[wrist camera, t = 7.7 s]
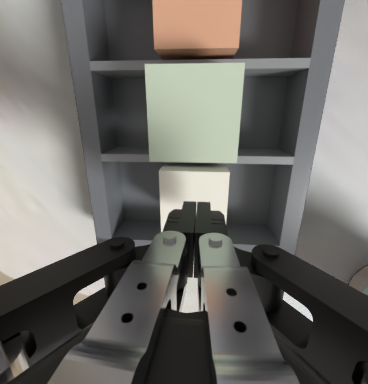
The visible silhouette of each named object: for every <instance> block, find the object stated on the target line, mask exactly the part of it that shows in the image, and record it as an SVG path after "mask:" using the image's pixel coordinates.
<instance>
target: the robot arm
mask: <svg viewBox="0 0 368 384" xmlns="http://www.w3.org/2000/svg"><path fill="white" fill-rule="evenodd" d="M193 264H194V278H198V310H199V312H193V313H182V312H181V311H182V306H183V301H184V296H185V291H186V284H187V278H188V277H193ZM103 277H104V280H105V288H103V289H101V290H99V291H98V292H96V293H94V294H93V295H91V296H89V297H87V298H86V299H84V300H82V301H80V302H79V303H77V304H75V305H74V306H73V299H74V296H75V295H76V294H77V293H78V292H79V291H80V290H81V289H83V288H85V287H87V286H88V285H90V284H92V283H94V282H96V281H98V280H99V279H101V278H103ZM284 292H286V293H287V294H289V295H290V296H292V297H293V298H294V299H296V300H297V301H299V302H300V303H301V304H303V305H304V306H305V307H307V308H308V310H309V311H310V312H311V314H312V317H313V322H312V321H311V320H309V319H308V318H307V317H305V316H304V315H303V314H301V313H300V312H299V311H297V310H296V309H295V308H293V307H292V306H291V305H289V304H288V303H286V302H285V301H284V300H283V294H284ZM0 384H368V295H366V294H364V293H362V292H360V291H358V290H357V289H355V288H353V287H351V286H349V285H347V284H346V283H344V282H342V281H340V280H338V279H336V278H335V277H333V276H331V275H329V274H327V273H325V272H324V271H322V270H320V269H318V268H316V267H314V266H313V265H311V264H309V263H307V262H305V261H303V260H302V259H300V258H298V257H296V256H294V255H292V254H291V253H289V252H287V251H285V250H283V249H281V248H279V247H277V246H274V245H268V244H261V245H257V246H255V247H254V248H253V249H252V252H248V251H244V250H241V249H238V248H236V247H234V246H233V243H232V240H231V239H230V238H229V237H228V234H227V228H226V223H225V217H224V214H222V213H221V212H220V211H212V210H211V206H210V202H197V214H196V202H194V201H184V202H183V206H182V209H174V210H172V211H171V212H170V213H169V214H168V217H167V220H166V223H165V226H164V228H163V231H162V232H161V233H158V234H157V235H156V236H155V237H154V239H153V240H152V242H151V244H149V245H144V246H137V247H135V242H134V241H133V240H132V239H131V238H128V237H115V238H111V239H109V240H106V241H104V242H102V243H99V244H97V245H95V246H92V247H90V248H88V249H85V250H83V251H80V252H78V253H76V254H73V255H71V256H69V257H66V258H64V259H62V260H59V261H57V262H55V263H52V264H50V265H48V266H45V267H43V268H41V269H38V270H36V271H34V272H31V273H29V274H27V275H24V276H22V277H20V278H17V279H15V280H13V281H10V282H8V283H6V284H3V285H1V286H0Z"/></svg>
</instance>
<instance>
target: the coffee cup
mask: <svg viewBox="0 0 368 384" xmlns="http://www.w3.org/2000/svg"><path fill="white" fill-rule="evenodd" d="M349 286H351V287H353V288H355V289H357V290H358V291H360V292H362V293H364V294H366V295H368V266H366V267H364V268H362V269H361V270H359V271H358V272H357V273H356V274H355V275H354V276H353V277H352V279H351V280H350V282H349Z"/></svg>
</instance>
